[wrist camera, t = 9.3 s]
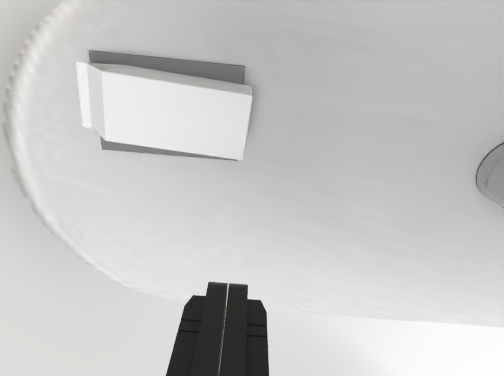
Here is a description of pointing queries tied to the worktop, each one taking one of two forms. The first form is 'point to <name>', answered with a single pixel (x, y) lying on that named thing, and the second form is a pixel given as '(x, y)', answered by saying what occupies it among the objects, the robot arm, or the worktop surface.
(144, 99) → the milk carton
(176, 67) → the mat
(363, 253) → the worktop surface
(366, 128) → the worktop surface
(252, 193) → the worktop surface
